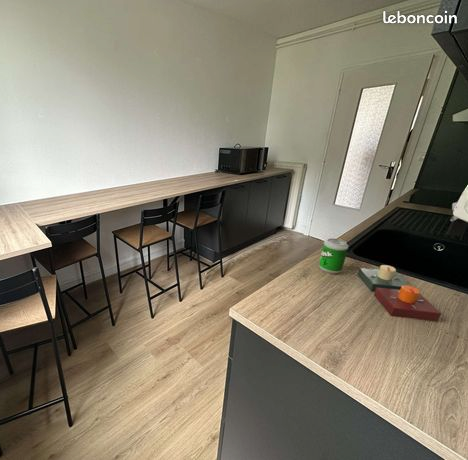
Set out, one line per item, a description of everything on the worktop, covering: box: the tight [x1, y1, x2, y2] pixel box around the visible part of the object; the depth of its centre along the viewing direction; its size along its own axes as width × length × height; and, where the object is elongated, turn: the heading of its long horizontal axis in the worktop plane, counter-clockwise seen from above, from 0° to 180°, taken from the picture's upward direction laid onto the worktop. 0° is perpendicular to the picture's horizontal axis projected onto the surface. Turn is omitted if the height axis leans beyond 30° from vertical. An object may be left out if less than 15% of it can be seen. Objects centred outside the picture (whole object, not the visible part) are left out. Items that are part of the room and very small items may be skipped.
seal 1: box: [377, 264, 397, 280], centre depth 85 cm, size 4×4×4 cm
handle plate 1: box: [357, 267, 412, 293], centre depth 86 cm, size 11×10×3 cm
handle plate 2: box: [373, 288, 442, 323], centre depth 75 cm, size 11×10×3 cm
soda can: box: [318, 237, 349, 275], centre depth 94 cm, size 8×8×12 cm
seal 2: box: [398, 285, 421, 303], centre depth 74 cm, size 4×4×4 cm
